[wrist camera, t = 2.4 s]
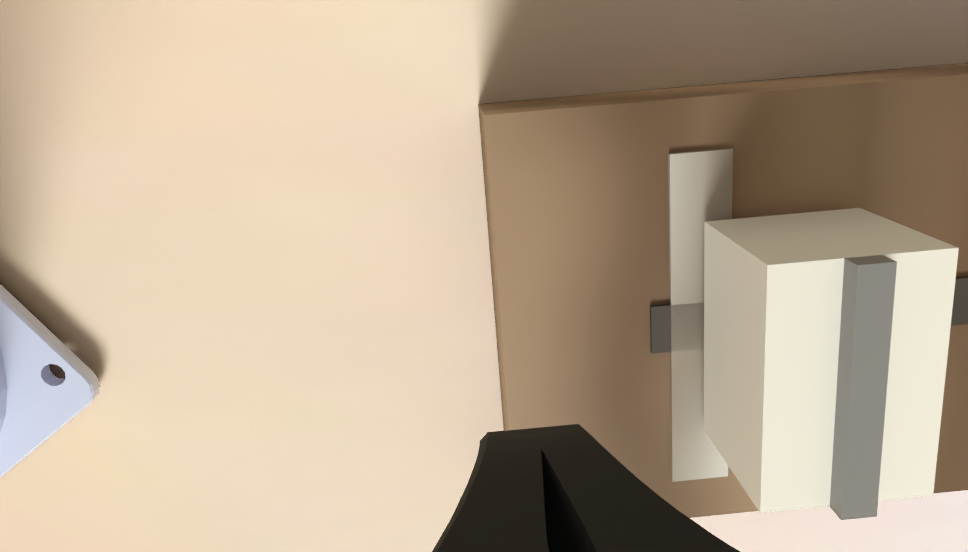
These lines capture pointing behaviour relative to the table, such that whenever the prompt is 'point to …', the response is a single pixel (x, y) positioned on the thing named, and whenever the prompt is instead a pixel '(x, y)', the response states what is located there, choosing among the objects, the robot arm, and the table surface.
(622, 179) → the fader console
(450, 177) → the table surface
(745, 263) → the fader knob
